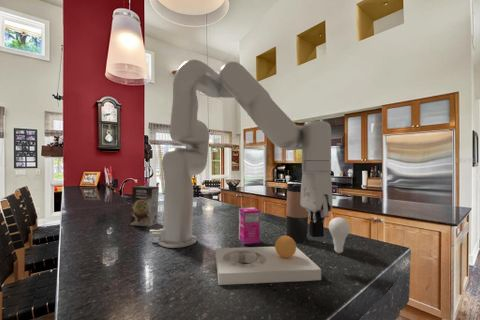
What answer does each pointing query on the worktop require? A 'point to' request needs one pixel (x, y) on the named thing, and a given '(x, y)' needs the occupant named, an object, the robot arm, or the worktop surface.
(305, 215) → the travel mug
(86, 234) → the worktop surface
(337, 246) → the lightbulb
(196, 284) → the worktop surface
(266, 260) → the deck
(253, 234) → the supplement box
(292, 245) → the ball
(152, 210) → the coffee box
